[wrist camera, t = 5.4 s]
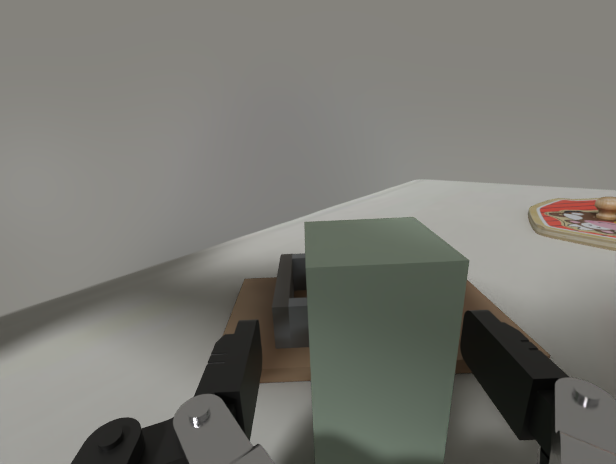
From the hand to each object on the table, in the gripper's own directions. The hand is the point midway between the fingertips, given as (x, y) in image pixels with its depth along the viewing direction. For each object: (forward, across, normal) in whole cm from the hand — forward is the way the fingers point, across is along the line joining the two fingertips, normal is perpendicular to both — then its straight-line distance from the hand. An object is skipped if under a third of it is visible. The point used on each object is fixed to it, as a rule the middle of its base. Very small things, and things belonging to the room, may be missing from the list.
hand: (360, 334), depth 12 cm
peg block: (-1, 0, +6) cm, 7 cm away
